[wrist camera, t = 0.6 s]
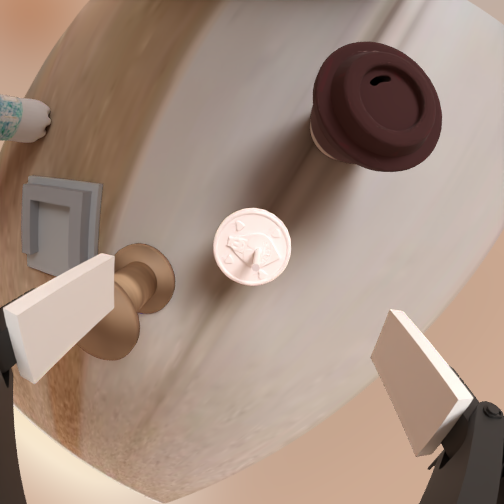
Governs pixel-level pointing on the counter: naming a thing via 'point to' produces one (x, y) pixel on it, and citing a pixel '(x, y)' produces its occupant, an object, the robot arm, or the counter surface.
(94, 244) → the notch board
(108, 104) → the counter surface
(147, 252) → the bobbin
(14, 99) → the bottle
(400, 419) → the robot arm
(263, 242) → the smoothie
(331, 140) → the coffee cup
